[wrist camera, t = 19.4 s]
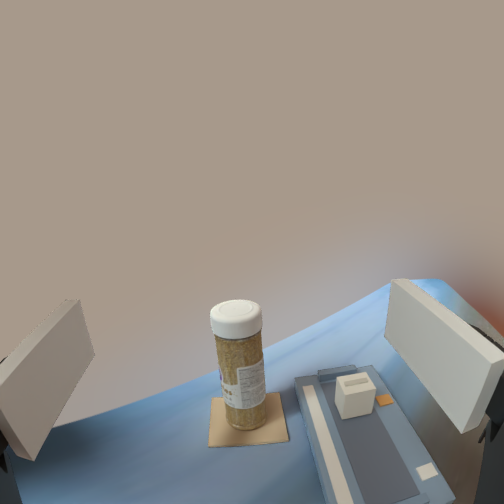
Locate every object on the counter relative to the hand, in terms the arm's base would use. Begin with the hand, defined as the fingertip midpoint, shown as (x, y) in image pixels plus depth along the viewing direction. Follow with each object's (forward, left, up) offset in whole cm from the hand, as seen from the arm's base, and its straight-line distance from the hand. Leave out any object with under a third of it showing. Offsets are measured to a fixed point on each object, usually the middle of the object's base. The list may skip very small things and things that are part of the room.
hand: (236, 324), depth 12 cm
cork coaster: (-1, +15, -19) cm, 24 cm away
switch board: (+10, +9, -19) cm, 24 cm away
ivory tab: (+10, +12, -18) cm, 24 cm away
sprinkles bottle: (-1, +15, -19) cm, 24 cm away
